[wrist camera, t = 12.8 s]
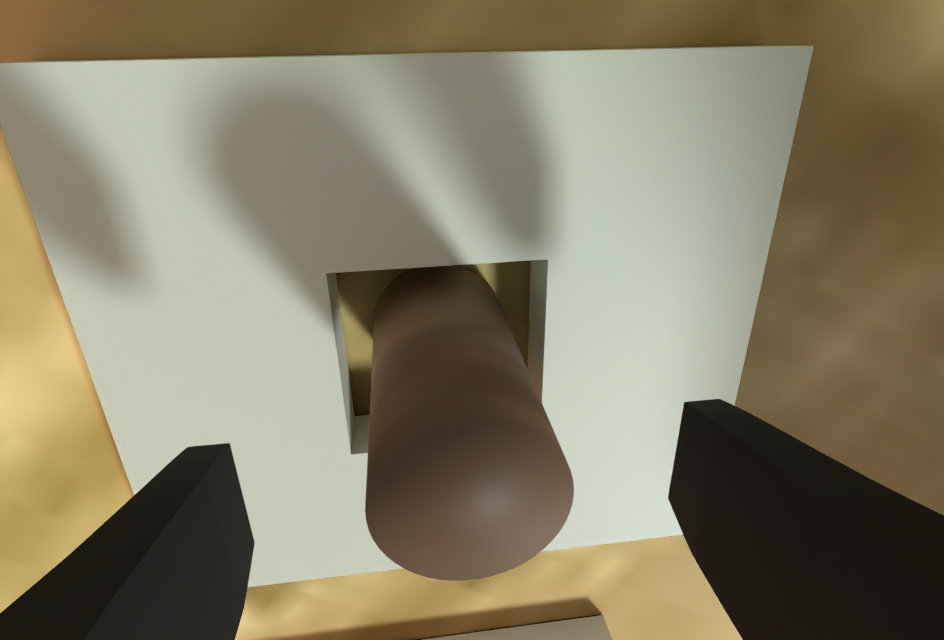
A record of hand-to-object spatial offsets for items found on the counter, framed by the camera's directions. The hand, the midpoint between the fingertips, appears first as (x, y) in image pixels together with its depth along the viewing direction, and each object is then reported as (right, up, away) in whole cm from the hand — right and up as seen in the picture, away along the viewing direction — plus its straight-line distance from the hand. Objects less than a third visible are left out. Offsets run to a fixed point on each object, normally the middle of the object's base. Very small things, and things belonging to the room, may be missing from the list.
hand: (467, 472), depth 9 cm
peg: (-1, +2, +4) cm, 5 cm away
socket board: (-1, +2, +4) cm, 5 cm away
